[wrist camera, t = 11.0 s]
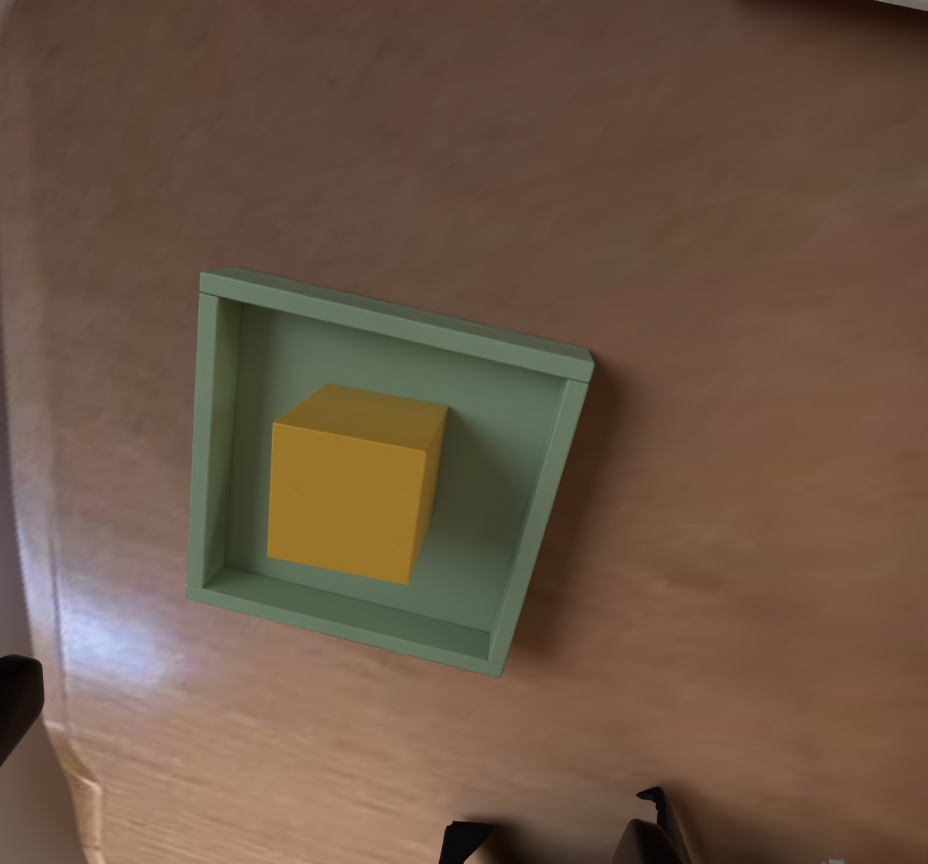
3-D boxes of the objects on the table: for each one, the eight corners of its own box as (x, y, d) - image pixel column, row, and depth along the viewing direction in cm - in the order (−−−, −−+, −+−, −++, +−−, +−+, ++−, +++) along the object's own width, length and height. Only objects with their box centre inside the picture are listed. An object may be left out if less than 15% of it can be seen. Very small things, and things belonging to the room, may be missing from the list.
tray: (503, 637, 21) (500, 679, 19) (216, 565, 22) (185, 599, 20) (588, 348, 17) (595, 363, 15) (236, 266, 18) (199, 270, 16)
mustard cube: (432, 517, 19) (407, 586, 15) (317, 494, 19) (266, 557, 16) (449, 405, 18) (427, 451, 14) (325, 382, 18) (271, 422, 14)
